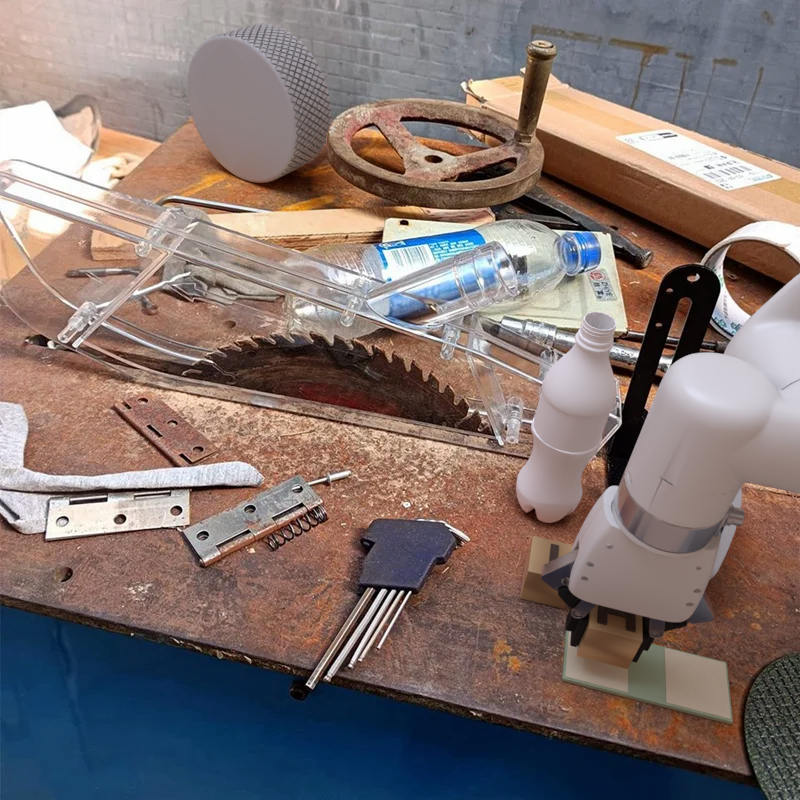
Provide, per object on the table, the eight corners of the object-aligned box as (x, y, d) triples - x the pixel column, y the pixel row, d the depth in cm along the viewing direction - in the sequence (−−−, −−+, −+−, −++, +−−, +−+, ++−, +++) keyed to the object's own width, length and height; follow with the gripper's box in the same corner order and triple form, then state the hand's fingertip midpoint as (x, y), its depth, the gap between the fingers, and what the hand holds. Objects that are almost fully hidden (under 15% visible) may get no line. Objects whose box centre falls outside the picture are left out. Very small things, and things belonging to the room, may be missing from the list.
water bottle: (570, 483, 88) (631, 302, 71) (580, 531, 82) (648, 347, 66) (509, 478, 87) (555, 295, 71) (515, 527, 82) (566, 341, 66)
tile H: (627, 626, 70) (643, 596, 67) (627, 669, 66) (643, 640, 63) (579, 613, 70) (592, 583, 67) (576, 656, 67) (589, 626, 64)
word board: (725, 664, 71) (727, 661, 71) (731, 724, 67) (733, 721, 66) (566, 625, 73) (567, 621, 73) (561, 681, 69) (563, 677, 68)
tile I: (567, 573, 78) (578, 544, 75) (564, 609, 74) (575, 581, 71) (524, 563, 78) (533, 533, 75) (519, 598, 75) (528, 569, 72)
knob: (330, 183, 142) (333, 41, 126) (296, 201, 135) (294, 54, 119) (229, 145, 151) (219, 9, 135) (192, 161, 144) (178, 19, 128)
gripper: (777, 496, 58) (695, 628, 70) (558, 446, 60) (515, 584, 72) (792, 573, 52) (701, 703, 64) (550, 515, 55) (505, 652, 66)
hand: (603, 639), depth 68 cm, fingers closed on tile H, 4 cm apart
